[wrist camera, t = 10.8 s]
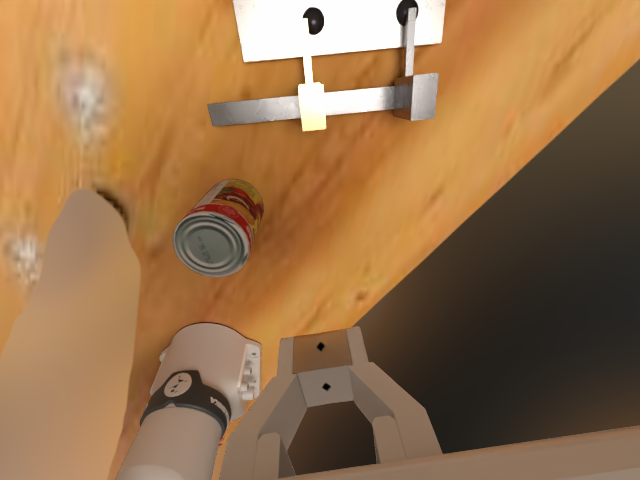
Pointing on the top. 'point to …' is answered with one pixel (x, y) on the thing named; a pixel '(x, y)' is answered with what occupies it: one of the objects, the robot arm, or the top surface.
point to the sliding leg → (310, 89)
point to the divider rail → (347, 96)
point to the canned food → (220, 229)
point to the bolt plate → (332, 26)
